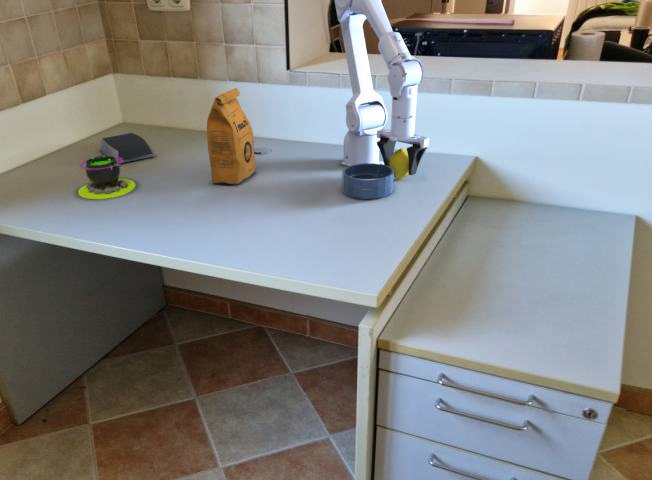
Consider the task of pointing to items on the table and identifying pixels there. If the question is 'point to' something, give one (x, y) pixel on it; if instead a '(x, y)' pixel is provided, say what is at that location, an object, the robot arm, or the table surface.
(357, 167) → the bowl
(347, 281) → the table surface
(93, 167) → the toy cauldron
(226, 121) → the coffee package
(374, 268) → the table surface
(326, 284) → the table surface
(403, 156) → the lemon
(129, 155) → the hard drive
